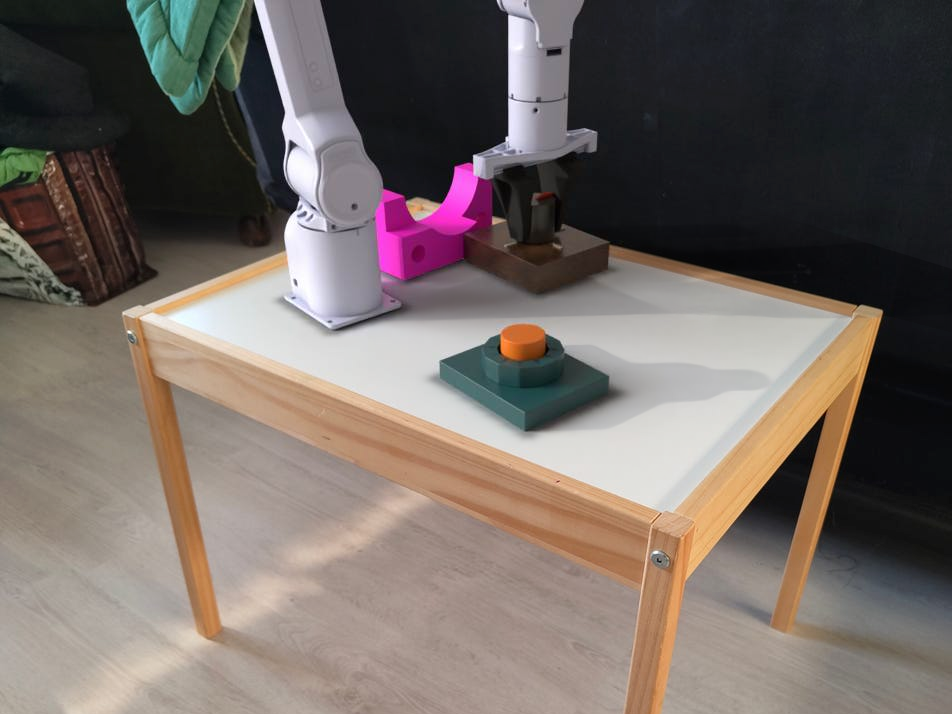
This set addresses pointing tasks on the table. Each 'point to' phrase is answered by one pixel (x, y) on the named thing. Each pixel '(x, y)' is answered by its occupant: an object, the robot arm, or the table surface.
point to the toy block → (432, 226)
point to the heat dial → (542, 218)
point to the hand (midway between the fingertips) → (535, 233)
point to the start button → (523, 342)
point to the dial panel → (536, 256)
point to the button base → (524, 382)
